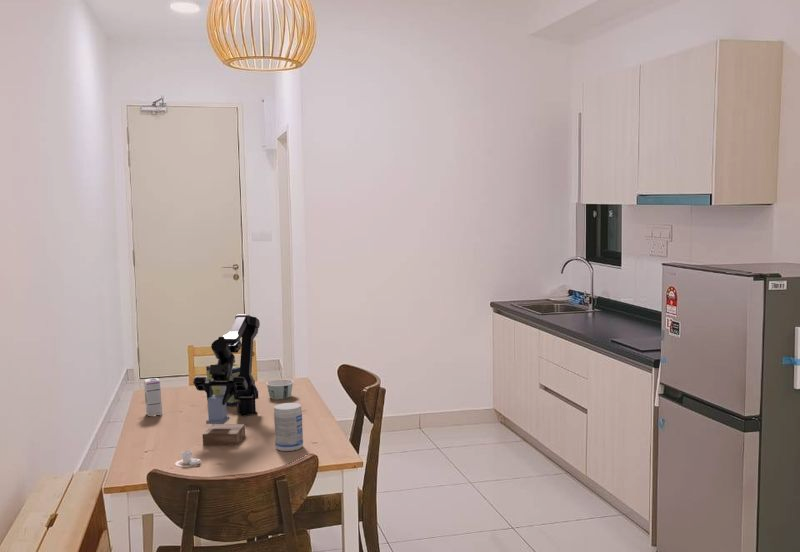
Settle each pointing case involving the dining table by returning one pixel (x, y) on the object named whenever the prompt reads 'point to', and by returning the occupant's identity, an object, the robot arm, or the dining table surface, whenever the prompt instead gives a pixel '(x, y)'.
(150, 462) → the dining table surface
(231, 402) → the protein box
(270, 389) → the food container
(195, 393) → the dining table surface
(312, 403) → the dining table surface
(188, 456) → the teacup and saucer
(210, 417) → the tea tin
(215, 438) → the stack block
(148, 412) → the syrup box
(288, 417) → the supplement tub
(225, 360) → the robot arm
